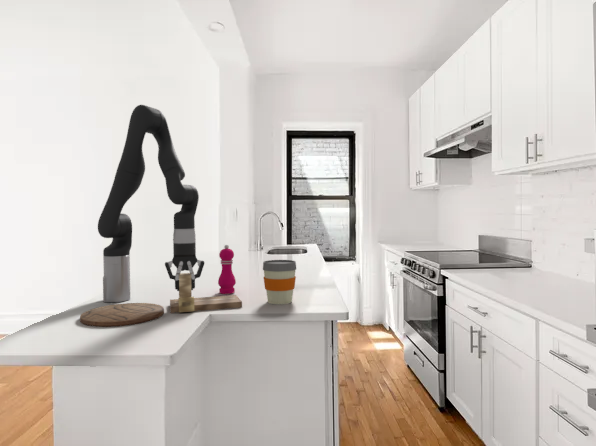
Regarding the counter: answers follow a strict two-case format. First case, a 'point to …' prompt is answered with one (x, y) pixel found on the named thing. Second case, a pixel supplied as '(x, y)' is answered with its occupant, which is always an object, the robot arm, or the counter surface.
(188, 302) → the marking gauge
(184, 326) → the counter surface
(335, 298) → the counter surface
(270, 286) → the reusable coffee cup
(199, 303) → the walnut board
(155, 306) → the trivet
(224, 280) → the pepper mill
